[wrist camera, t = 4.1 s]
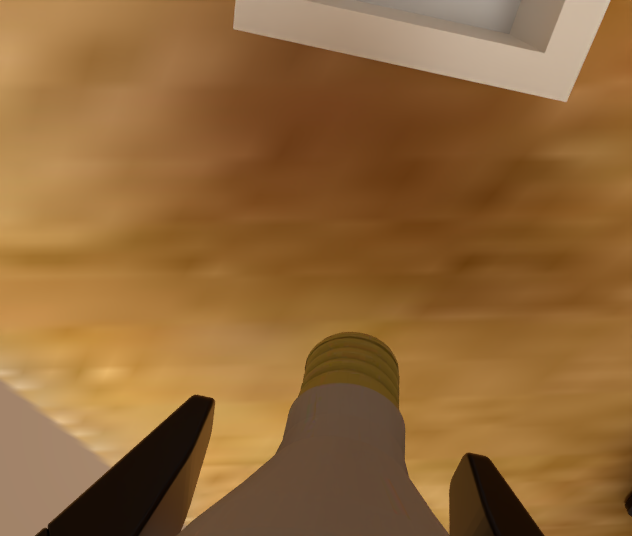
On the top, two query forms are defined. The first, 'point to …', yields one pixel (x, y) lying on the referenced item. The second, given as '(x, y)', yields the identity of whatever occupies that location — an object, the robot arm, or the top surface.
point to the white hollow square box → (445, 36)
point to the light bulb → (333, 457)
